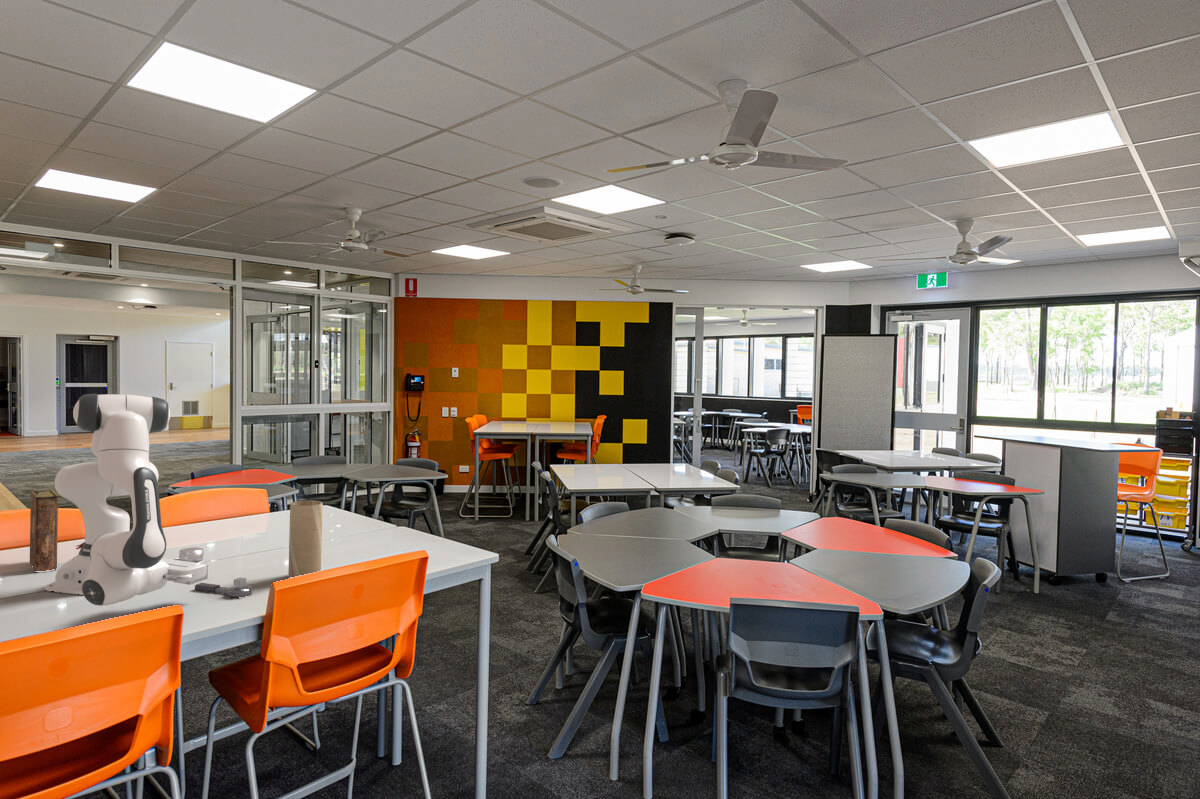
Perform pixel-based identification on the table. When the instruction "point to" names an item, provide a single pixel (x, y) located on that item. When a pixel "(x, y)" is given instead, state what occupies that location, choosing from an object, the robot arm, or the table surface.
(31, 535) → the book
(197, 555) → the grey block with cylinder
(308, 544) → the tube
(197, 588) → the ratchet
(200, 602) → the table surface
